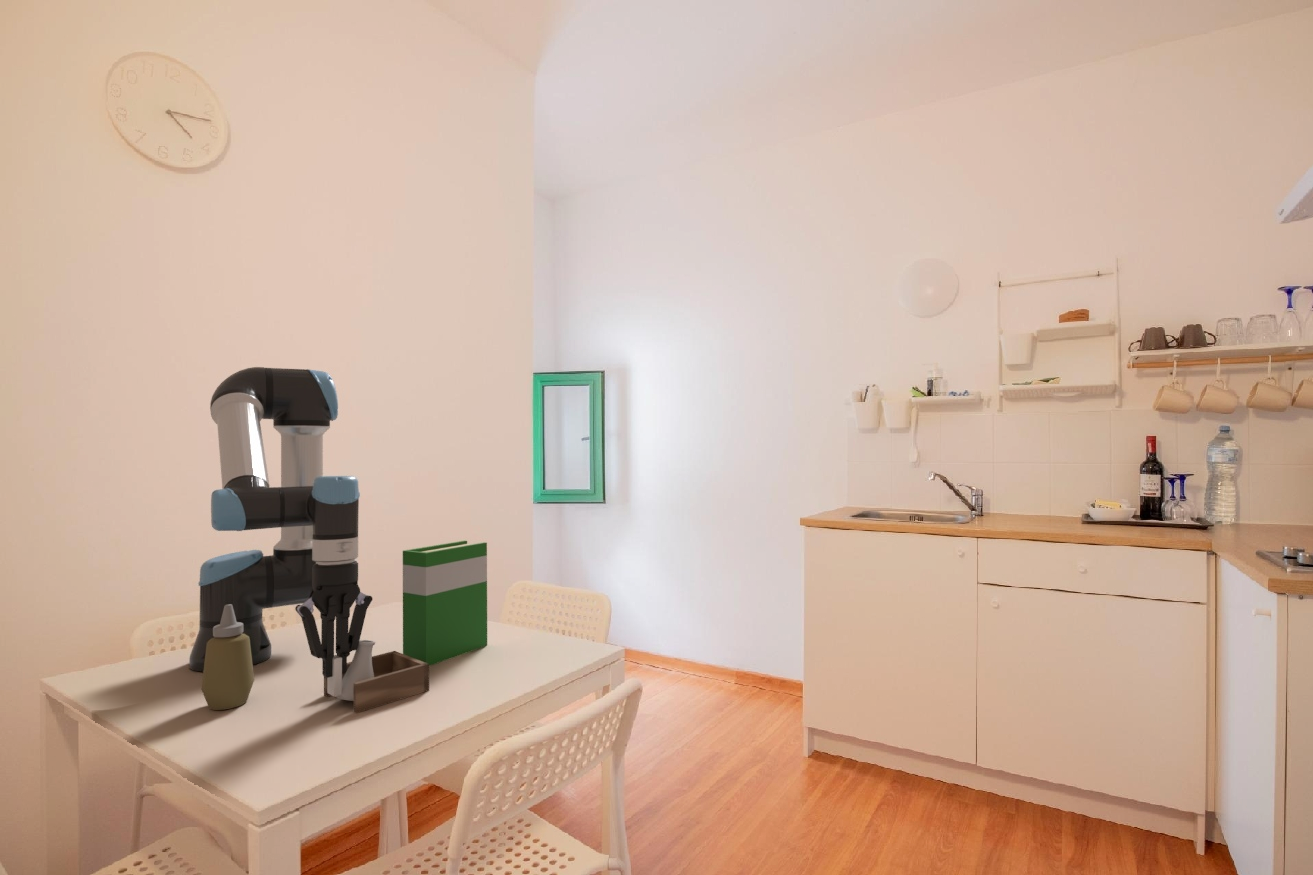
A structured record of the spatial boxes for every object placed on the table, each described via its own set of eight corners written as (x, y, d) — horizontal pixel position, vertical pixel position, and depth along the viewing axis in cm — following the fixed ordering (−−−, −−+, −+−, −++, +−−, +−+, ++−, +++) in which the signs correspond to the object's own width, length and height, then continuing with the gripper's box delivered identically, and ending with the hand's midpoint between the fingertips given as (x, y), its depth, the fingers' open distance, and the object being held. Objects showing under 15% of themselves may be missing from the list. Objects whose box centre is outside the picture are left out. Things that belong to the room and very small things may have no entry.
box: (323, 695, 124) (323, 668, 124) (394, 675, 135) (394, 650, 135) (356, 713, 116) (356, 684, 116) (429, 690, 126) (429, 663, 126)
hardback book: (464, 640, 159) (464, 540, 159) (487, 645, 155) (486, 542, 155) (402, 661, 144) (402, 550, 144) (426, 667, 140) (425, 553, 140)
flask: (354, 704, 116) (365, 645, 118) (324, 696, 119) (335, 639, 121) (385, 698, 123) (394, 642, 125) (356, 690, 126) (366, 636, 128)
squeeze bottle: (214, 717, 115) (215, 612, 115) (192, 707, 119) (192, 607, 119) (263, 701, 121) (263, 603, 122) (240, 693, 126) (240, 598, 126)
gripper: (306, 568, 112) (304, 709, 112) (380, 559, 122) (379, 688, 121) (288, 563, 117) (287, 698, 116) (361, 555, 127) (360, 679, 126)
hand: (334, 693), depth 119 cm, fingers closed
